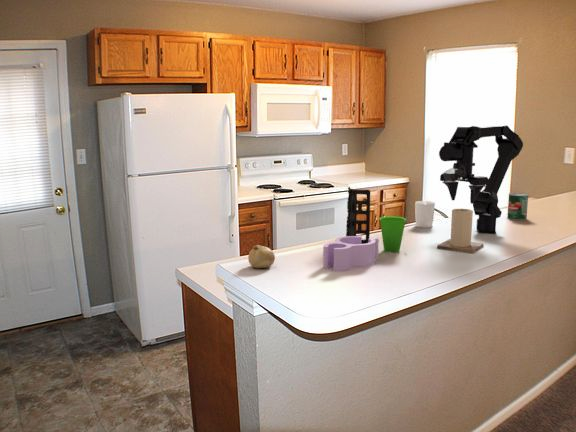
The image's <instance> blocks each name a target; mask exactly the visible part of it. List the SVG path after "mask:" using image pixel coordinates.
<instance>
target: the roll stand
mask: <svg viewBox="0 0 576 432" xmlns="http://www.w3.org/2000/svg"><path fill="white" fill-rule="evenodd" d="M450 242H451V238H449V239H447V240H445V241H443V242H441V243H440V244H437V246H436V248H437V249H440V250H447V251H454V252H461V253H468V254H474V253H476V252H477V251H479V250H480V249H481V248H483V247H484V245H485V244H484V242H477V241H471V245H470V246H467V247H459V246H453V245H451V244H450Z"/></svg>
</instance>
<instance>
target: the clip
mask: <svg viewBox="0 0 576 432" xmlns="http://www.w3.org/2000/svg"><path fill="white" fill-rule="evenodd" d="M362 238H363V237H362V234H356V236H346V235H345V236H339V237H337V238H335V240H334V241H333V242H327V243H324V244H323V246H322V247H323V248H322V249H323V257H322V258H323V261H322V263H323V264H322V265H323V266H322V269H324V270H328V269H329V268H330V266H333V272H347V271H350V270H351V269H353V268H365V267H371V266H373V265H375V264H376V261H378V260H379V240H380V239H379V238H378V237H369V239H368V243H366V244H361V243H362V240H363V239H362Z"/></svg>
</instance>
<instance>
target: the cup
mask: <svg viewBox="0 0 576 432" xmlns="http://www.w3.org/2000/svg"><path fill="white" fill-rule="evenodd" d="M378 219H379V220H378V221H380V230H381V236H382V237H381V239H382V245H383V250H384V252H386V253H393V254H394V253H399V252H400V250H401V245H402V242H403V241H402V240H403V236H404V231H405V230H404V229H405V226H406V221H407V218H405V217H401V216H394V215H393V216H392V215H391V216H389V215H388V216H381V217H379V218H378Z"/></svg>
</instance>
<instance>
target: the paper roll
mask: <svg viewBox="0 0 576 432" xmlns="http://www.w3.org/2000/svg"><path fill="white" fill-rule="evenodd" d="M473 213H474V210H472V209H468V208H453V209H452V210H451V225H450V226H451V228H450V239H451V242H450V244H451V245H453V246H459V247H467V246H470V245H471V242H472V229H473Z"/></svg>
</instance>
